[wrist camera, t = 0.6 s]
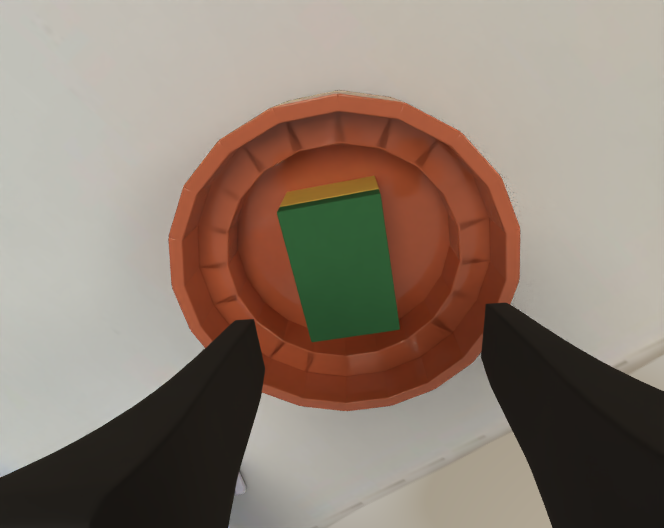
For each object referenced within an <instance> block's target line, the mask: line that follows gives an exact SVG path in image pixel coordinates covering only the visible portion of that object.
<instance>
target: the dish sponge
mask: <svg viewBox="0 0 664 528" xmlns="http://www.w3.org/2000/svg"><path fill="white" fill-rule="evenodd" d="M277 216H278V220H279V224H280V227H281V231H282V235H283V239H284V242H285V246H286V250H287V253H288V257H289V261H290V265H291V268H292V272H293V276H294V280H295V283H296V287H297V291H298V294H299V298H300V302H301V306H302V309H303V313H304V317H305V321H306V324H307V328H308V332H309V336H310V339H311V342H318V341H325V340H332V339H339V338H346V337H353V336H360V335H367V334H374V333H381V332H388V331H395V330H400V325H399V318H398V311H397V304H396V297H395V290H394V283H393V276H392V269H391V262H390V255H389V248H388V241H387V234H386V227H385V220H384V213H383V206H382V199H381V194H380V190H379V187H378V184H377V181H376V178H375V176H370V177H365V178H359V179H354V180H349V181H343V182H338V183H333V184H327V185H322V186H317V187H311V188H306V189H301V190H295V191H290V192H287V193H286V195H285V197H284V199H283V201H282V203H281V205H280V207H279V209H278V211H277Z"/></svg>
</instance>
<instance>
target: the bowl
mask: <svg viewBox="0 0 664 528" xmlns="http://www.w3.org/2000/svg"><path fill="white" fill-rule="evenodd" d="M370 176H375V178H376V181H377V184H378V187H379V190H380V194H381V199H382V206H383V213H384V220H385V227H386V234H387V241H388V248H389V255H390V262H391V269H392V276H393V283H394V290H395V297H396V304H397V311H398V318H399V325H400V330H395V331H388V332H381V333H374V334H367V335H360V336H353V337H346V338H339V339H332V340H325V341H318V342H311V339H310V336H309V332H308V328H307V324H306V321H305V317H304V313H303V309H302V306H301V302H300V298H299V294H298V291H297V287H296V283H295V280H294V276H293V272H292V268H291V265H290V261H289V257H288V253H287V250H286V246H285V242H284V239H283V235H282V231H281V227H280V224H279V220H278V216H277V211H278V209H279V207H280V205H281V203H282V201H283V199H284V197H285V195H286V193H287V192H290V191H295V190H301V189H306V188H311V187H317V186H322V185H327V184H333V183H338V182H343V181H349V180H354V179H359V178H365V177H370ZM168 240H169V254H170V268H171V283H172V286H173V287H172V289H173V291H174V293H175V296H176V298H177V300H178V303H179V305H180V307H181V310H182V312H183V314H184V317H185V319H186V321H187V324H188V326H189V328H190V330H191V332H192V333H193V334H194V335H195V336H196V338H197V339H198V340H199V341H200V342H201V343H202V345H203V346H204V347H205V348H206V347H207V346H208V345H209V344H210V343H211V342H212V341H214V340H215V339H216V338H217V337H218V336H219V335H220V334H221V333H222V332H223V331H224V330H225V329H226V328H227V327H228V326H229V325H230V324H231V323H233V322H234V321H235V320H245V319H254V321H255V326H256V330H257V335H258V339H259V343H260V348H261V352H262V356H263V361H264V365H265V375H264V381H263V388H262V393H265V394H268V395H271V396H273V397H276V398H279V399H282V400H285V401H287V402H290V403H293V404H296V405H298V406H303V407H312V408H321V409H331V410H340V411H353V410H361V409H369V408H377V407H386V406H391V405H395V404H397V403H400V402H403V401H405V400H408V399H411V398H413V397H416V396H419V395H421V394H424V393H427V392H429V391H432V390H434V389H436V388H437V387H439V386H440V385H442V384H443V383H445V382H446V381H447V380H449V379H450V378H452V377H453V376H454V375H456V374H457V373H459V372H460V371H462V370H463V369H464V368H466V367H467V366H469V365H470V364H471V363H472V362H474V360H475V359H476V358H477V357H478V355H479V354H480V353H481V351H482V340H483V329H484V318H485V306H486V304H491V303H508V304H511V301H512V298H513V296H514V293H515V291H516V288H517V285H518V283H519V276H520V226H519V223H518V221H517V218H516V215H515V212H514V210H513V207H512V204H511V202H510V199H509V196H508V194H507V191H506V188H505V185H504V183H503V180H502V178H501V176H500V175H499V174H498V173H497V171H496V170H495V169H494V168H493V167H492V166H491V165H490V164H489V162H488V161H487V160H486V159H485V158H484V157H483V156H482V155H481V153H480V152H479V151H478V150H477V149H476V148H475V147H474V146H473V144H472V143H471V142H470V141H469V140H468V139H467V138H466V137H465V135H464V134H463V133H461V132H460V131H459V130H457V129H455V128H453V127H451V126H449V125H447V124H445V123H443V122H441V121H439V120H438V119H436V118H434V117H432V116H430V115H428V114H426V113H424V112H422V111H420V110H418V109H417V108H415V107H413V106H411V105H409V104H407V103H405V102H402V101H400V100H397V99H395V98H391V97H387V96H379V95H372V94H364V93H357V92H349V91H342V90H339V91H338V90H336V91H332V92H327V93H322V94H318V95H313V96H308V97H304V98H299V99H294V100H290V101H286V102H284V103H281V104H279V105H276V106H274V107H271V108H270V109H268V110H266V111H265V112H263V113H262V114H260V115H258V116H257V117H255V118H254V119H252V120H250V121H249V122H247V123H246V124H244V125H242V126H241V127H239V128H237V129H236V130H234V131H233V132H231V133H229V134H228V135H226V136H225V137H223V138H221V139H220V140H219V141H218V142H217V143H216V144H215V146H214V147H213V148H212V150H211V151H210V152H209V153H208V155H207V156H206V157H205V159H204V160H203V161H202V163H201V164H200V165H199V166H198V168H197V169H196V170H195V172H194V173H193V174H192V176H191V177H190V178H189V179H188V181H187V182H186V183H185V185H184V187H183V189H182V193H181V196H180V199H179V203H178V206H177V210H176V213H175V216H174V220H173V223H172V226H171V230H170V233H169V238H168Z"/></svg>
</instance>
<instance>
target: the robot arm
mask: <svg viewBox="0 0 664 528" xmlns="http://www.w3.org/2000/svg"><path fill="white" fill-rule="evenodd" d="M481 359H482V362H483V365H484V368H485V371H486V374H487V377H488V380H489V383H490V385H491V388H492V390H493V392H494V394H495V396H496V398H497V400H498V402H499V404H500V406H501V408H502V410H503V412H504V414H505V417H506V419H507V421H508V423H509V425H510V427H511V429H512V431H513V433H514V435H515V437H516V438H517V441H518V443H519V445H520V447H521V449H522V451H523V453H524V455H525V457H526V459H527V461H528V464H529V466H530V468H531V470H532V473H533V476H534V478H535V481H536V484H537V486H538V489H539V492H540V494H541V497H542V500H543V502H544V505H545V508H546V511H547V514H548V516H549V519H550V522H551V525H552V528H664V391H661V390H659V389H657V388H655V387H652V386H650V385H648V384H646V383H644V382H641V381H639V380H637V379H635V378H633V377H631V376H629V375H627V374H625V373H623V372H621V371H619V370H617V369H615V368H613V367H611V366H609V365H607V364H605V363H603V362H601V361H600V360H598V359H596V358H594V357H593V356H591V355H589V354H587V353H586V352H584V351H582V350H580V349H579V348H577V347H575V346H574V345H572V344H570V343H569V342H567V341H565V340H564V339H562V338H561V337H559V336H557V335H556V334H554V333H553V332H551V331H550V330H548V329H547V328H545V327H543V326H542V325H540V324H539V323H537V322H536V321H534V320H533V319H531V318H530V317H528V316H527V315H525V314H524V313H522V312H521V311H519V310H518V309H516V308H515V307H513V306H512V305H510V304H508V303H491V304H486V306H485V318H484V329H483V340H482V351H481ZM264 375H265V365H264V361H263V356H262V352H261V348H260V343H259V339H258V335H257V330H256V326H255V321H254V319H245V320H235V321H234V322H233V323H231V324H230V325H229V326H228V327H227V328H226V329H225V330H224V331H223V332H222V333H221V334H220V335H219V336H218V337H217V338H216V339H215V340H214V341H212V342H211V343H210V344H209V345H208V346H207V347H206V348H205V349H204V350H203V351H202V352H201V353H200V354H199V355H198V356H196V357H195V358H194V359H193V360H192V361H191V362H190V363H189V364H187V365H186V366H185V367H184V368H183V369H182V370H180V371H179V372H178V373H177V374H176V375H175V376H173V377H172V378H171V379H170V380H169V381H167V382H166V383H165V384H164V385H162V386H161V387H160V388H158V389H157V390H156V391H154V392H153V393H152V394H150V395H149V396H148V397H146V398H145V399H143V400H142V401H141V402H139V403H138V404H136V405H135V406H133V407H132V408H130V409H129V410H127V411H125V412H124V413H122V414H121V415H119V416H118V417H116V418H114V419H113V420H111V421H110V422H108V423H106V424H105V425H103V426H102V427H100V428H98V429H97V430H95V431H93V432H91V433H90V434H88V435H86V436H84V437H82V438H81V439H79V440H77V441H75V442H73V443H71V444H69V445H68V446H66V447H64V448H62V449H60V450H58V451H56V452H54V453H52V454H50V455H48V456H46V457H44V458H42V459H40V460H38V461H35V462H33V463H31V464H29V465H27V466H25V467H23V468H20V469H18V470H16V471H14V472H12V473H10V474H8V475H5V476H3V477H1V478H0V528H228V525H229V520H230V514H231V509H232V504H233V498H234V495H242V494H244V493H245V490H246V485H245V483H244V481H243V479H242V476H241V474H240V472H239V470H240V466H241V463H242V459H243V456H244V453H245V449H246V446H247V443H248V439H249V436H250V433H251V430H252V426H253V423H254V419H255V416H256V413H257V409H258V406H259V402H260V399H261V394H262V388H263V381H264Z"/></svg>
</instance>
